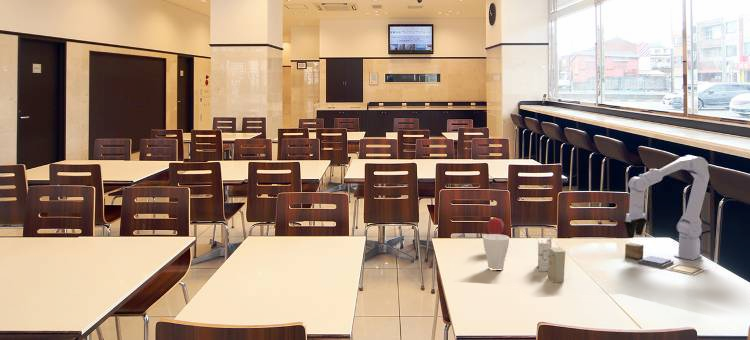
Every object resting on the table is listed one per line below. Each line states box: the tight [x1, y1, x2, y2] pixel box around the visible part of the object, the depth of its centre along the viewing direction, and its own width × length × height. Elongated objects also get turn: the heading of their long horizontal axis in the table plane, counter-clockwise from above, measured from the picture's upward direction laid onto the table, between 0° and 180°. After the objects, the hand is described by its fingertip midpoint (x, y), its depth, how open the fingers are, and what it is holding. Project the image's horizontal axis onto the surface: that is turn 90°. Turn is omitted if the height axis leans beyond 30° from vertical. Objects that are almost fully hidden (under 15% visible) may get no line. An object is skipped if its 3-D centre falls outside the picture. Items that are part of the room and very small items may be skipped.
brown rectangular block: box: [624, 242, 644, 261], centre depth 266 cm, size 4×6×6 cm, turn 41°
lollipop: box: [486, 217, 505, 235], centre depth 281 cm, size 8×8×15 cm
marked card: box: [665, 263, 706, 276], centre depth 249 cm, size 11×11×1 cm
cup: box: [482, 233, 510, 270], centre depth 251 cm, size 10×10×14 cm
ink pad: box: [638, 255, 674, 269], centre depth 257 cm, size 10×10×2 cm
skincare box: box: [547, 247, 566, 283], centre depth 236 cm, size 6×4×12 cm
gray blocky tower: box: [537, 231, 552, 272], centre depth 251 cm, size 9×5×15 cm, turn 168°
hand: (634, 236), depth 265 cm, fingers open, 7 cm apart
